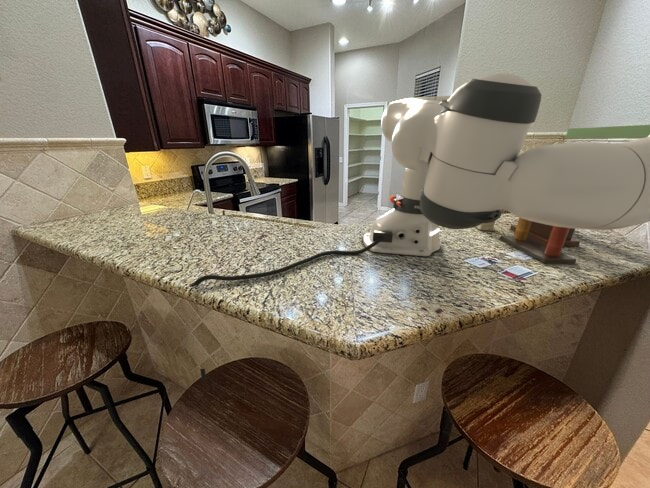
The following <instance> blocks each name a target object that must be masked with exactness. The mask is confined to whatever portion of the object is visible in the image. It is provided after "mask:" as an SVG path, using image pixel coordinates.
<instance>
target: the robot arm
mask: <svg viewBox="0 0 650 488" xmlns="http://www.w3.org/2000/svg"><path fill="white" fill-rule="evenodd" d="M541 101H542V93H541V91H540V90H539V88H538V87H537V86H535V85H532V83H530V82H529V81H528V80H526V79H525V78H523V77H521V76H519V75H516V74H513V73H508V72H498V73H497V72H495V73H490V74H486V75H483V76H480V77H478V78H471V79H470V80H468V81H466V82H465V83H463V84H462V85H460V86H458V87H457V89H456V90H455V91H454V92H453V93H452V94H451V95H437V96H418V97H408V98H407V97H406V98H403V99H398V100H395V101H392V102H390V103H389V104H388V105H387V107H386V108H385V109H384V111H383V113H382V116H381V122H380V128H381V131H382V134H383V137H384V138H385V139H386V140H387V141H388V142H391V150H392V155H393V157H394V159H395V160H396V161H397V163H398V164H399V165H400V166H402V167H403V168H405V169H404V170H403V177H402V178H403V179H402V186H401V187H402V188H401V194H400V195H399V196H395V195H393V194H392V195H390V196H389V198H388V200H389V202H390V203H392V208H391V209H390V210H388V211H387V212H385V213H384V214H382V215H381V216H378V217H377V218H375V219H374V221H373V223H372V226H371V228H370V229H371V230H370V232H367V233H365V234H364V235H363V236H362V242H363V244H364V246H365V247H364V248H361V249H359V250H328V251H322V252H320V253H316V254H314V255H312V256H309V257H307V258H304V259H302V260H301V259H300V260H298V261H296V262H293V263H291V264H289V265H286V266H284V267H280V268H276V269H273V270H269V271H264V272H258V273H252V274H249V273H248V274H241V275H231V276H230V275H217V274H206V275H203V276H200V277H199V278H197V279H196V280H195V281H194V282H193V284H192V286H193V287H196V286H199V285H200V284H201V283H203V282H205V281H211V280H213V281H214V280H216V281H225V282H234V281H241V280H252V279H259V278H265V277H270V276H274V275H278V274H282V273H284V272H287V271H289V270H291V269H292V270H293V269H294V268H296V267H299V266H301V265H304V264H307V263H309V262H311V261H314V260H317V259H319V258H322V257H324V256H331V255H344V256H345V255H347V256H351V255H352V256H354V255H360V254H364V253H366V252H368V251H371V252H374V253H379V254H381V253H382V254H393V255H405V256H418V257H430V256H431V255H432V253H435V252H437V251H438V250H440V249H441V241H440V227H441V228H445V229H450V230H465V229H470V228H477V227H476V226H479V225H481V224H482V223H491V222H494V221H495V222H496V221H497V220H499V219H501V217H502V210H503V211H507V212H509V213H510V214H512V215H513V216H515V217H518V219H519V218H522V219H526V220H529V221H533V222H537V223H541V224H545V225H551V226H557V227H565V228H575V230H593V231H610V230H619V229H624V228H630V227H634V226H638V225H643V224H646V223H648V222H650V135H649V136H648V137H646V138H637V139H635V140H630V141H624V142H617V143H615V142H614V143H612V142H597V141H596V142H595V141H591V142H589V141H583V142H582V141H581V142H580V141H579V142H564V143H563V142H562V143H555V144H547V145H541V146H537V147H533V148H530V149H528V150H526V151H524V152H523V153H520V152H521V150H522V148H523V145H524V143H525V140H526V138H527V135H528V133H529V130H530V127H531V124H533V123H535V122H536V119H537V116H538V113H539V109H540V106H541ZM205 369H206V368H199V371H200V377H201V380H202V381H205V380H206V379H207V374H206V370H205Z"/></svg>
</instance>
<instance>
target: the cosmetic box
mask: <svg viewBox="0 0 650 488" xmlns="http://www.w3.org/2000/svg"><path fill="white" fill-rule="evenodd" d="M495 223H496V221H494V222H491V223H482V224H481V225H479V226H476V227H475V228H476V229H478V230H479V231H488V232H493V231H494V227H495Z"/></svg>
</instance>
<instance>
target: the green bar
mask: <svg viewBox="0 0 650 488" xmlns="http://www.w3.org/2000/svg"><path fill="white" fill-rule="evenodd" d="M649 135H650V124H634V125H616V126H595V127H593V126H592V127H577V128H576V127H574V128H567V130H566V135H565V137H564V139H642V138H646V137H648V136H649Z"/></svg>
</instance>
